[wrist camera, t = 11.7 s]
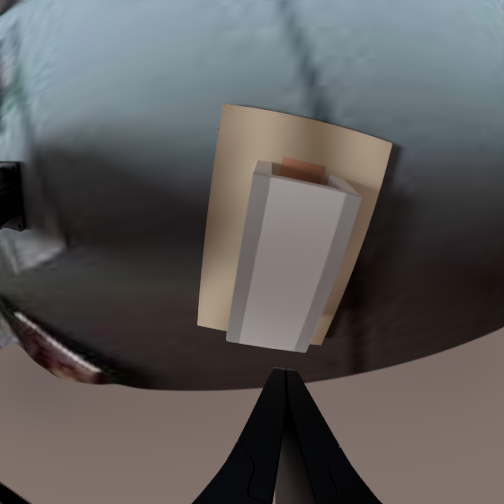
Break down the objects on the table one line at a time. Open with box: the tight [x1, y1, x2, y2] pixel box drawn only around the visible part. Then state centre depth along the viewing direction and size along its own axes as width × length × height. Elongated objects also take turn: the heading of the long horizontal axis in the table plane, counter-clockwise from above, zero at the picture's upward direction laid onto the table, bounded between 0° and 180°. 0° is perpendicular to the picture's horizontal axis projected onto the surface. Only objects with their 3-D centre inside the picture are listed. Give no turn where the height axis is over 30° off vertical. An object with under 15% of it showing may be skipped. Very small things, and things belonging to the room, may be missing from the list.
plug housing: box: [226, 160, 362, 353], centre depth 16 cm, size 5×10×4 cm, turn 170°
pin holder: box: [197, 104, 392, 345], centre depth 17 cm, size 10×16×4 cm, turn 170°
